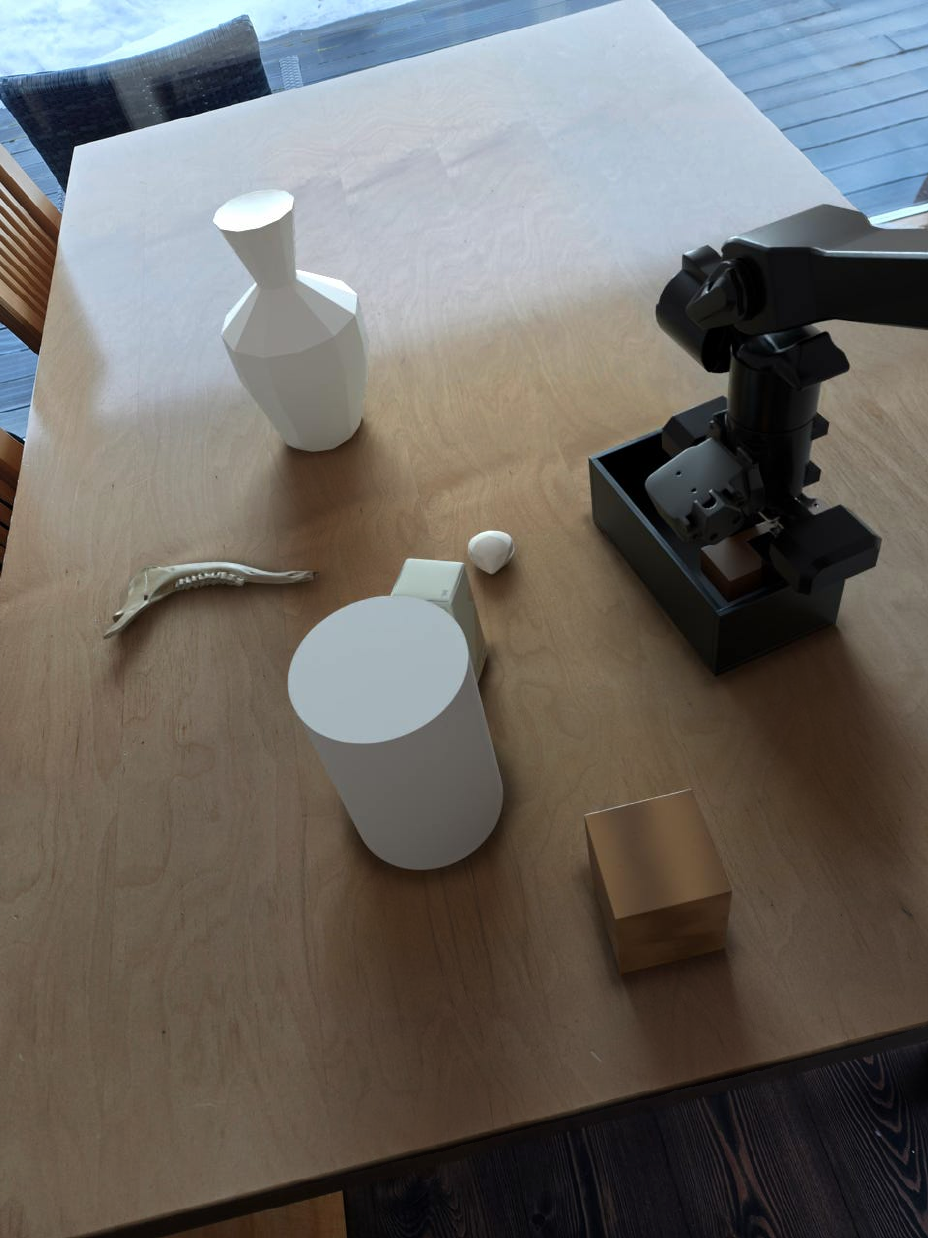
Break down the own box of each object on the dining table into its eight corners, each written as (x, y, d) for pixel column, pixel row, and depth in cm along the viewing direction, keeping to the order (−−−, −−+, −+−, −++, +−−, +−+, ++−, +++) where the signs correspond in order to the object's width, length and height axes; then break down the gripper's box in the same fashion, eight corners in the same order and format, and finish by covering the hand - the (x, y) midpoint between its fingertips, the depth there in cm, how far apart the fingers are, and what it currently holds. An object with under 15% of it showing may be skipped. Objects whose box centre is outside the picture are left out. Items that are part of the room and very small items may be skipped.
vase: (319, 487, 97) (237, 266, 78) (240, 438, 105) (149, 226, 86) (415, 414, 103) (361, 191, 84) (334, 373, 110) (267, 160, 92)
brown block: (776, 537, 75) (779, 515, 73) (806, 569, 72) (810, 546, 70) (700, 570, 74) (701, 548, 72) (727, 603, 71) (729, 581, 70)
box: (489, 650, 80) (469, 561, 71) (476, 691, 77) (453, 604, 69) (431, 643, 81) (405, 555, 73) (416, 682, 79) (388, 596, 70)
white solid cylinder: (518, 745, 73) (487, 604, 60) (482, 882, 66) (439, 756, 53) (381, 726, 76) (325, 588, 64) (333, 855, 70) (259, 729, 57)
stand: (688, 852, 65) (691, 788, 58) (724, 949, 61) (732, 891, 54) (591, 876, 65) (583, 814, 58) (620, 974, 61) (615, 920, 54)
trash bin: (836, 624, 76) (850, 559, 70) (715, 677, 74) (719, 616, 69) (696, 475, 89) (699, 412, 84) (592, 518, 88) (587, 456, 82)
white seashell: (515, 541, 88) (512, 522, 86) (516, 580, 84) (513, 561, 82) (470, 546, 88) (465, 527, 86) (470, 585, 85) (465, 566, 83)
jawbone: (110, 590, 93) (101, 575, 91) (307, 528, 95) (301, 512, 93) (111, 651, 86) (101, 635, 85) (322, 583, 88) (316, 567, 87)
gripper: (596, 377, 66) (605, 533, 78) (744, 537, 54) (729, 693, 66) (733, 324, 68) (722, 485, 80) (907, 468, 56) (864, 632, 67)
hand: (753, 567), depth 73 cm, fingers closed on brown block, 4 cm apart
